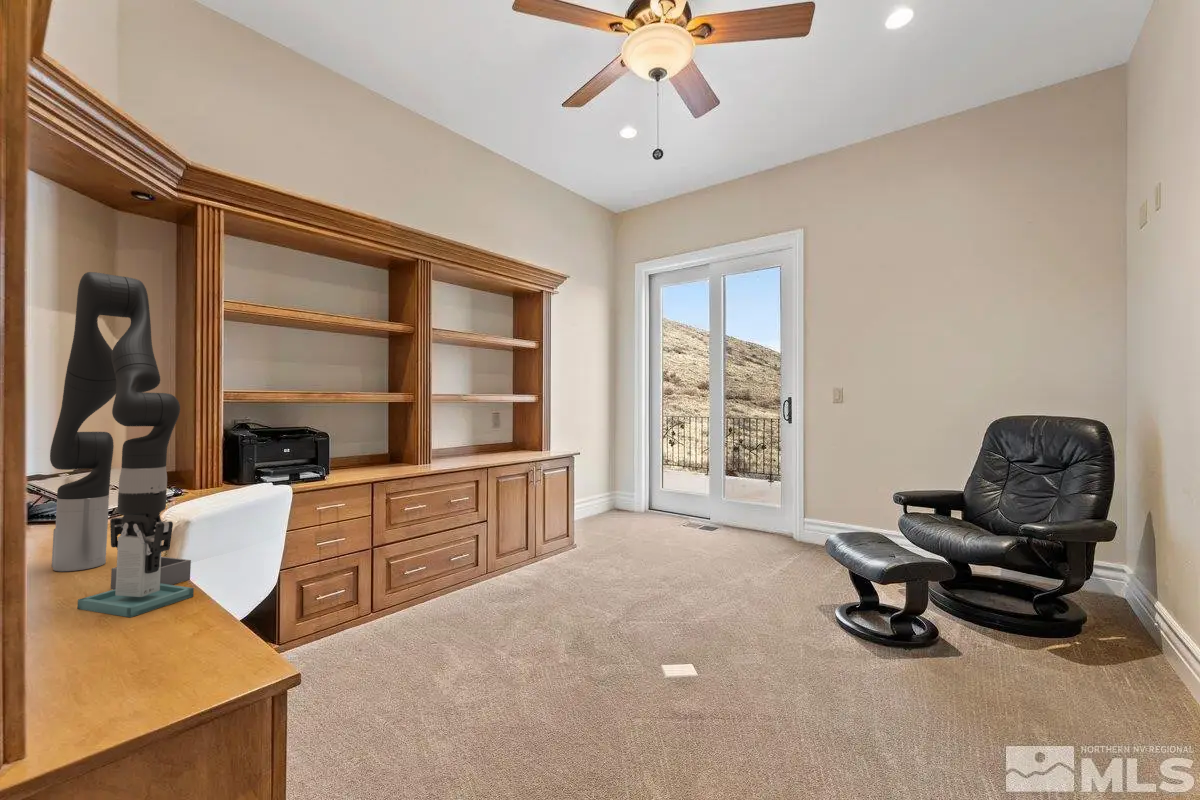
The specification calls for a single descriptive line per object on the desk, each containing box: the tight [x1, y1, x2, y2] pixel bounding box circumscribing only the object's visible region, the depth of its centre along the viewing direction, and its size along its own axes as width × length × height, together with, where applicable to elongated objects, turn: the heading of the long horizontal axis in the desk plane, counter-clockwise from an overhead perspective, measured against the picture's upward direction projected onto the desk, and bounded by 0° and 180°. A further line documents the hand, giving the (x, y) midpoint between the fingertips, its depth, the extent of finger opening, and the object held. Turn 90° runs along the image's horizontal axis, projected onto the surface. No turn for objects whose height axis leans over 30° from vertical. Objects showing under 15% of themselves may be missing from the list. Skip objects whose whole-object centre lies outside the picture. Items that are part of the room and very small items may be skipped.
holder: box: [110, 555, 192, 590], centre depth 118 cm, size 9×10×4 cm
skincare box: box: [115, 534, 163, 597], centre depth 108 cm, size 6×4×12 cm
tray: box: [77, 583, 195, 618], centre depth 107 cm, size 14×12×2 cm
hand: (138, 570), depth 107 cm, fingers closed on skincare box, 6 cm apart
